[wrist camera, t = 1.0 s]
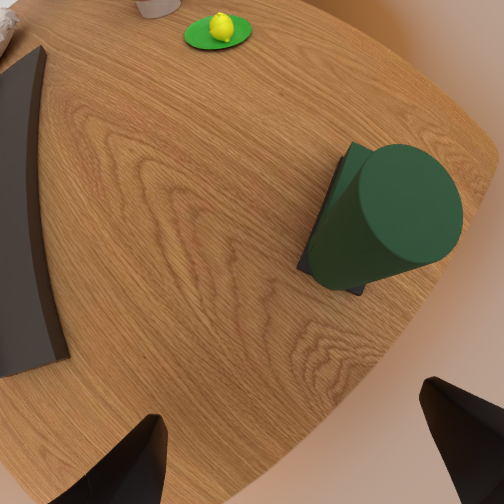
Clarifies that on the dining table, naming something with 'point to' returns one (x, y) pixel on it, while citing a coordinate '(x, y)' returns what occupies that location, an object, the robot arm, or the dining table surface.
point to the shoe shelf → (24, 228)
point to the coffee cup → (157, 7)
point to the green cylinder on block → (382, 218)
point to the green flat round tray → (218, 31)
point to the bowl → (7, 27)
